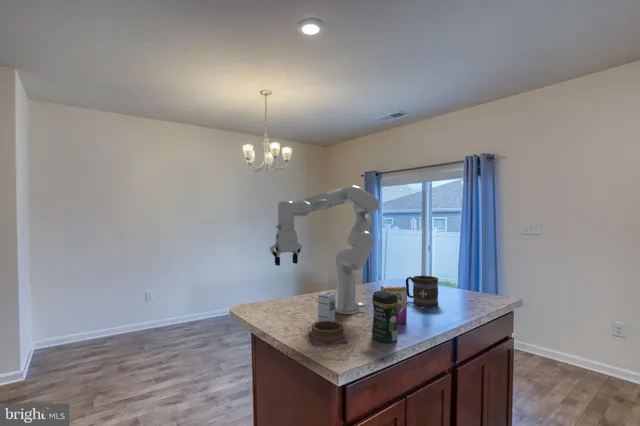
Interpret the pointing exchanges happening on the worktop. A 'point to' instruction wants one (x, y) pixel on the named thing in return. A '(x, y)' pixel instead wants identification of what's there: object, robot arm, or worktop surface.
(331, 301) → the syrup box
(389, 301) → the coffee jar
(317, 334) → the collar
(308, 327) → the worktop surface
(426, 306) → the mug
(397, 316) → the candy bar box
